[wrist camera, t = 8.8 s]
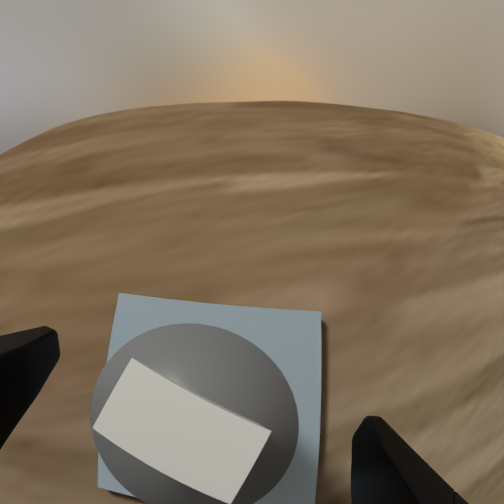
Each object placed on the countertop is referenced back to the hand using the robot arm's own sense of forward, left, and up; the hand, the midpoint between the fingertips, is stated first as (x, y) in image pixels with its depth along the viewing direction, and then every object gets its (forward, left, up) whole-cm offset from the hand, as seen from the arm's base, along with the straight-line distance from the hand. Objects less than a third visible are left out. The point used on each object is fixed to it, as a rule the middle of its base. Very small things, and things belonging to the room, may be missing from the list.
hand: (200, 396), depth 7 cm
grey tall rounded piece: (-1, 0, -9) cm, 9 cm away
